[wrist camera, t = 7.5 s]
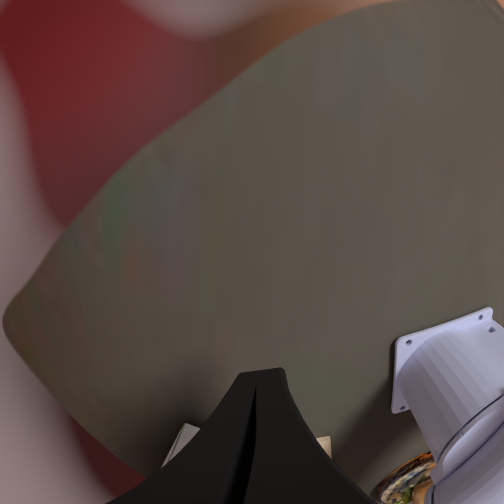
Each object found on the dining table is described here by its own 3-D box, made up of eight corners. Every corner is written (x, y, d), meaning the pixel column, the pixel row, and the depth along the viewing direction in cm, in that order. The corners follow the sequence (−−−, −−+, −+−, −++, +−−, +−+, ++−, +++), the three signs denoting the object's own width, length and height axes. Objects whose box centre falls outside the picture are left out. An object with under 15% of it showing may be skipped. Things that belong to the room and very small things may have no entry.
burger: (368, 503, 26) (376, 544, 18) (387, 460, 23) (403, 512, 16) (443, 480, 24) (458, 515, 17) (473, 432, 22) (497, 472, 14)
